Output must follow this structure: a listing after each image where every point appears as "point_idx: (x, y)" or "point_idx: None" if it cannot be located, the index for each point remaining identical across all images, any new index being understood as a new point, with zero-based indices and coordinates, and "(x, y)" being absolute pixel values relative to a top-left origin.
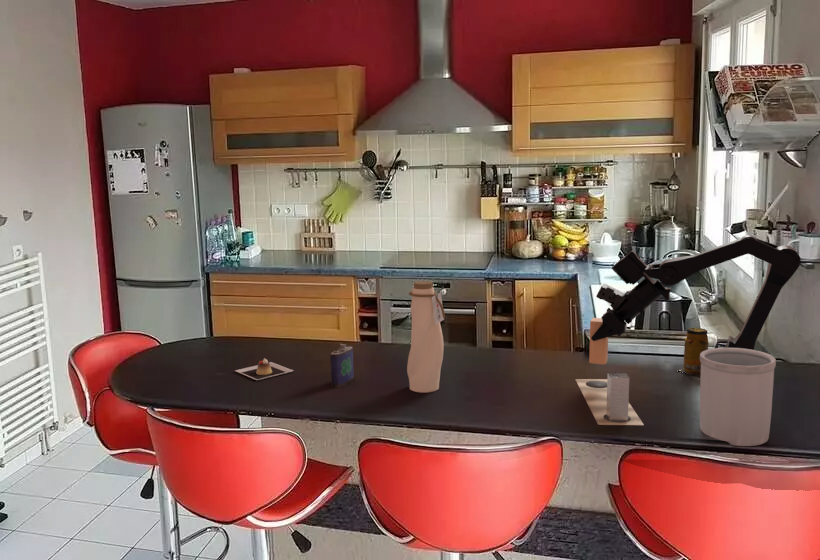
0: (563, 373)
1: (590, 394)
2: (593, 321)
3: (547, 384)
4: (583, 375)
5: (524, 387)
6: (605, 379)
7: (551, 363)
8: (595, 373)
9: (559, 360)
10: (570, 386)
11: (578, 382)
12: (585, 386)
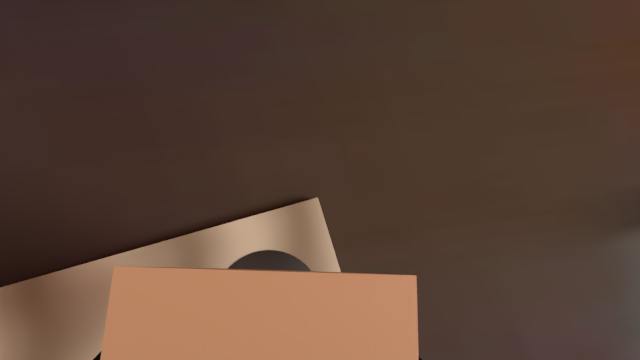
0: (419, 138)
1: (102, 294)
2: (108, 331)
3: (250, 96)
4: (421, 221)
5: (185, 18)
6: None
7: (530, 78)
8: (469, 267)
9: (582, 103)
10: (250, 188)
11: (272, 217)
12: (221, 255)
